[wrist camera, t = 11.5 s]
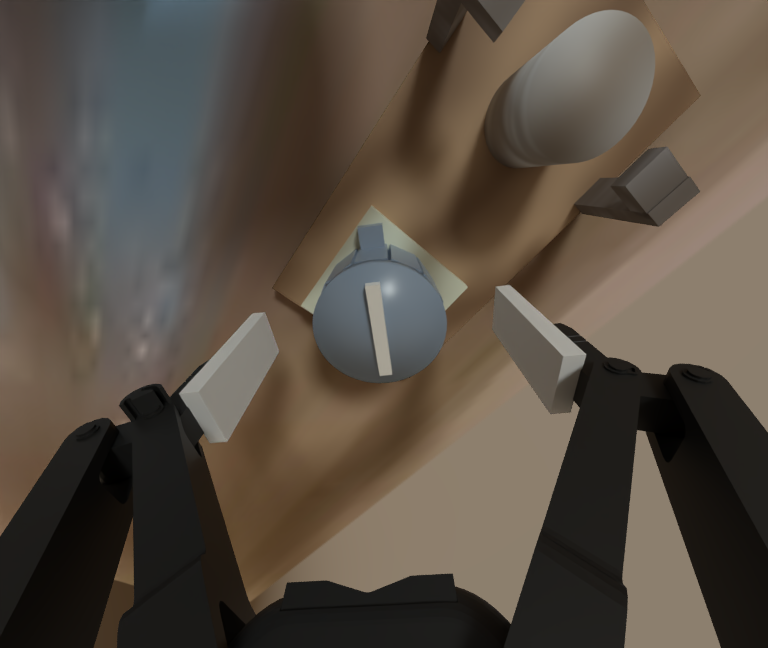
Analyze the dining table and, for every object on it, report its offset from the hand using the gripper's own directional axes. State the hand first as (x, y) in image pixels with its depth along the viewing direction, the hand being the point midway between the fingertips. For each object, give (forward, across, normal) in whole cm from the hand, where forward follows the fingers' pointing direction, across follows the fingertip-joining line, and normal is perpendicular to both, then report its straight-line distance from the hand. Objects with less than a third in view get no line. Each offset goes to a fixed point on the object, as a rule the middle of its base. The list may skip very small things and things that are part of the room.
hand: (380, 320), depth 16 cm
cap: (+5, 0, -1) cm, 5 cm away
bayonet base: (+7, +6, +5) cm, 11 cm away
